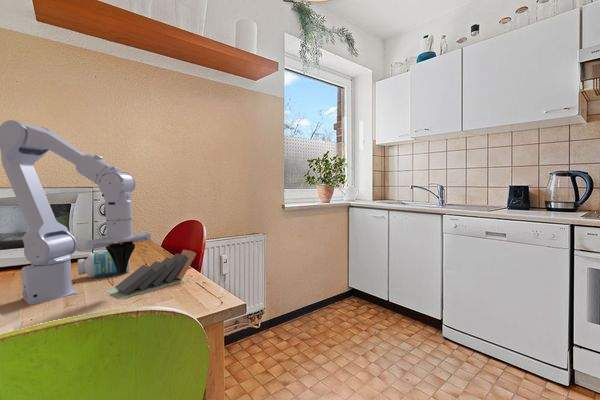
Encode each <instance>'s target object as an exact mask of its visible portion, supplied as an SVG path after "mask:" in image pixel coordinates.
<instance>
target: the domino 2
mask: <svg viewBox="0 0 600 400" xmlns="http://www.w3.org/2000/svg"><path fill="white" fill-rule="evenodd" d="M161 262H162V261H161ZM161 262H160V261H157V260H155V261H154V262H153V263H152V264H151V265H149V267H152V268H153V269H154V271H155V273H153V274H152V275H151V276H150V277H149V278H147V279H146V280H145V281H144V282H143V283H141V284H140V285H139V286H138V287H136V289H139V290H141V291H143V290H144V289H145V288H146V287H147V286H148V285H150V284H151V283H152V282H153V281H154V280H155V279H156V278H157V277H158V276H159V275H160V274H162V273H163V272H164V271H165V270H166V269H167V268H168V267H167V266H166V264H165V263H161Z"/></svg>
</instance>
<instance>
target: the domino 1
mask: <svg viewBox="0 0 600 400" xmlns="http://www.w3.org/2000/svg"><path fill="white" fill-rule="evenodd" d="M149 266H150V265H149ZM149 266H148V265H145V264H143V265H141V266H140V267H139V268H137V269H136V270H134V272H132V273H131V274H130V275H128V276H126V278H125V279H123V280H122V281H120V282H119V283H118V284H117V285H115V287H114V288H116V289H117V291H118V292H120V293H123V294H125V295H128V294H129V293H130V292H132V291H133V290H134V289H135V288H136V287H138V286H139V285H140V284H141V283H143V282H144V281H145V280H146V279H147V278H149V277H150V276H151V275H152V274H153V273H155V271H154V269H153V268H152V267H149Z"/></svg>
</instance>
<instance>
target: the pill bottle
mask: <svg viewBox="0 0 600 400" xmlns="http://www.w3.org/2000/svg"><path fill="white" fill-rule="evenodd" d="M130 260H131V259H129V262H128V265H127V270H126V273H129V272H130V271H131V262H130ZM126 273H125V274H126ZM77 274H78V275H79V276H80V275H85V274H87V276H88V277H89V278H97V277H98V278H99V277H105V276H112V275H120V273H117V270H116V266H115V264H114V261H113V259H112V257H111V255H110V254H109V252H108V251H102V252H93V253H90V254H88V255H87V258H80V259H77Z"/></svg>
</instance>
